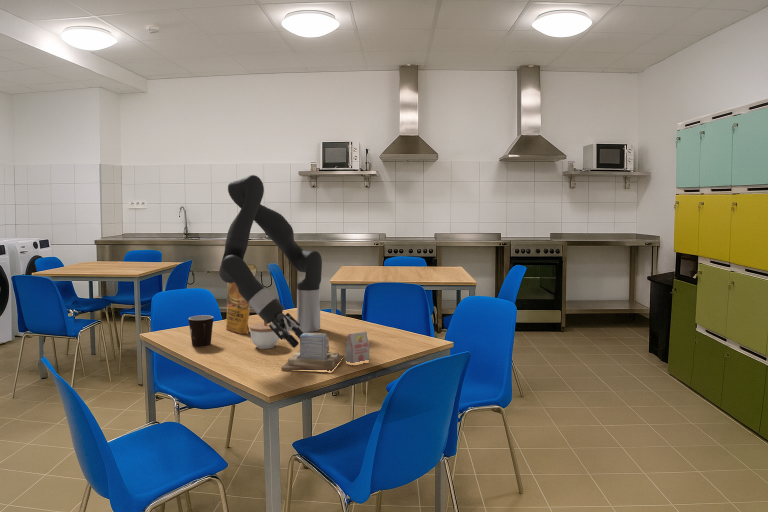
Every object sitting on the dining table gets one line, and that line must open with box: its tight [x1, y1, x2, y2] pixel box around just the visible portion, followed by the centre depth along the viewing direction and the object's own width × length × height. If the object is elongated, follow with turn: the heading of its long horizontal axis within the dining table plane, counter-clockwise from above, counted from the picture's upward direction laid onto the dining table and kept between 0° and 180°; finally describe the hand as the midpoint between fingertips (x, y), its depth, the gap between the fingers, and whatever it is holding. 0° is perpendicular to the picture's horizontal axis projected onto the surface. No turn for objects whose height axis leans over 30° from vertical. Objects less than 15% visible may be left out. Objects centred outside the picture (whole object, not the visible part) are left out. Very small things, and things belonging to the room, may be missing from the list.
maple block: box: [327, 337, 330, 353], centre depth 170 cm, size 5×5×5 cm
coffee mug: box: [188, 314, 214, 348], centre depth 178 cm, size 12×9×10 cm
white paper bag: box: [345, 331, 370, 363], centre depth 159 cm, size 4×7×10 cm, turn 126°
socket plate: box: [280, 350, 345, 371], centre depth 157 cm, size 16×16×2 cm
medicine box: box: [299, 332, 328, 360], centre depth 157 cm, size 8×4×9 cm, turn 82°
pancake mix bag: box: [225, 263, 258, 335], centre depth 201 cm, size 7×19×28 cm, turn 47°
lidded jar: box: [249, 320, 280, 350], centre depth 178 cm, size 11×11×9 cm
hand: (300, 342), depth 158 cm, fingers open, 8 cm apart
